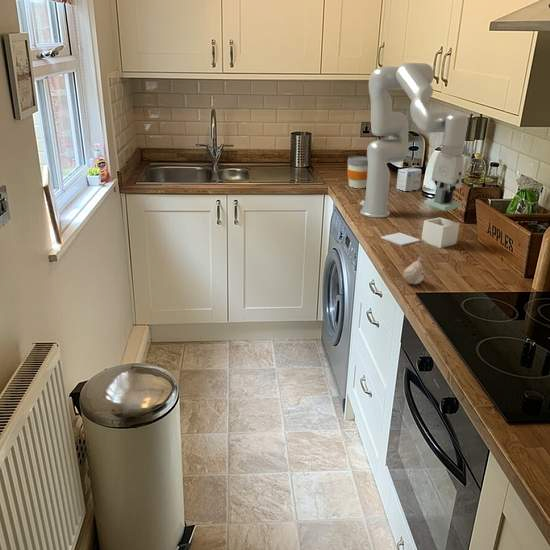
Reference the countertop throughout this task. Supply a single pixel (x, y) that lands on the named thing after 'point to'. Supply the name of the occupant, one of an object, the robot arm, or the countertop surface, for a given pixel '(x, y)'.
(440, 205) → the lid
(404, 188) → the light bulb box
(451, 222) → the tub
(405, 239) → the mat
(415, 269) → the garlic bulb
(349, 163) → the reusable coffee cup
